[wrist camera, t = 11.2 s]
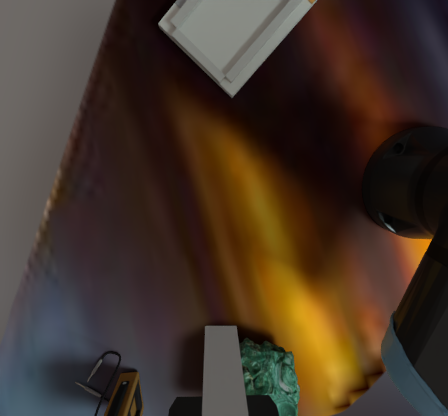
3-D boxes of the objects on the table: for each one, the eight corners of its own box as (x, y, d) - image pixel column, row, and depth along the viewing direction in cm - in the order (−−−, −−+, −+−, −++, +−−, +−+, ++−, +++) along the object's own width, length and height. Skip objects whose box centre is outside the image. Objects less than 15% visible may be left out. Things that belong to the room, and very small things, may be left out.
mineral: (325, 395, 49) (353, 457, 40) (244, 440, 51) (251, 511, 41) (268, 310, 46) (283, 356, 36) (182, 362, 47) (174, 419, 37)
